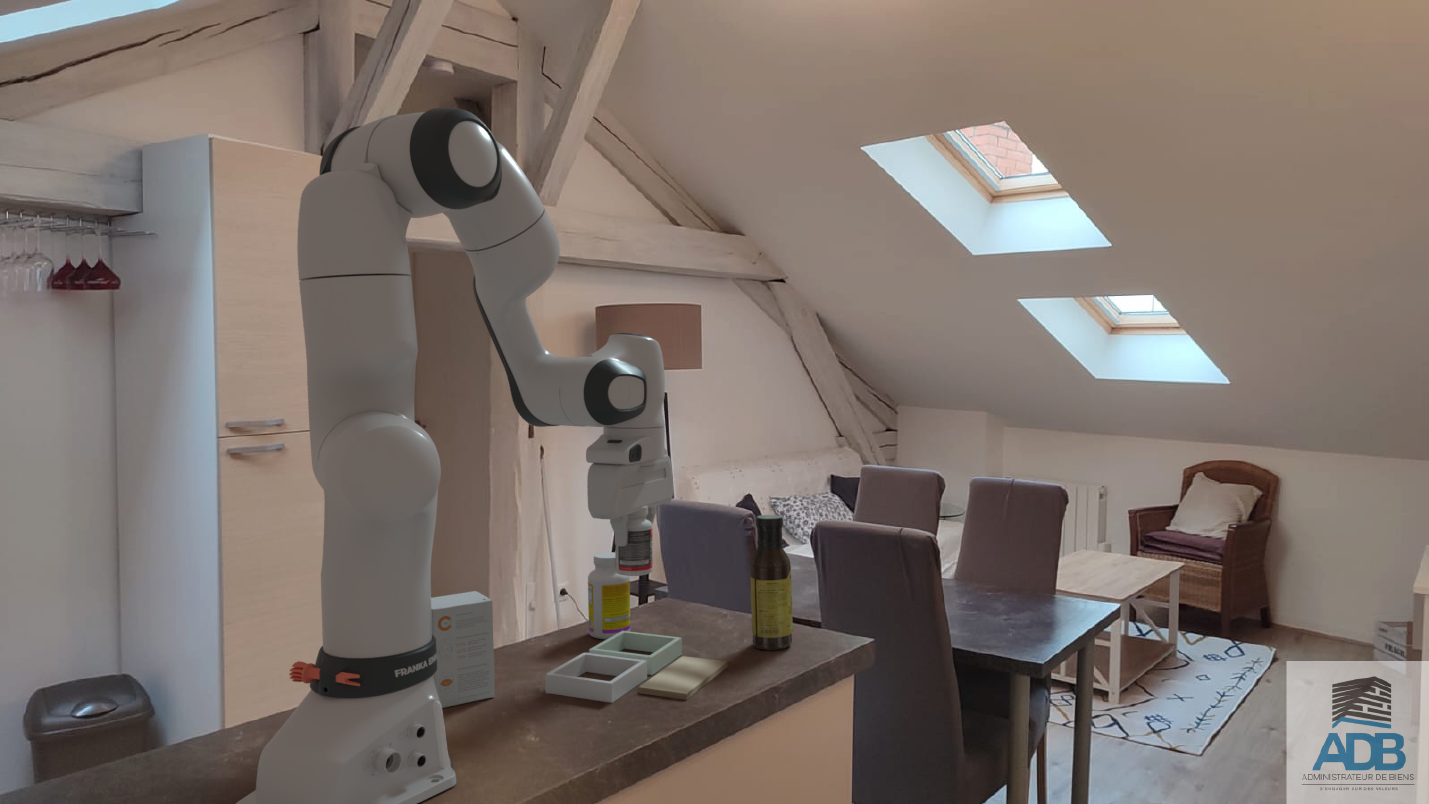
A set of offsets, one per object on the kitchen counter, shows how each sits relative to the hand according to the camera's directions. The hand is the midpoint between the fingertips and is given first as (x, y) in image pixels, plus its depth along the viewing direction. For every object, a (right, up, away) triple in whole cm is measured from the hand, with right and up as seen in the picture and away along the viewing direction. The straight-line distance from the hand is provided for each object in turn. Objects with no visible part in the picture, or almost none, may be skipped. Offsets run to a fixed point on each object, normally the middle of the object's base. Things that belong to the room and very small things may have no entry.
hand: (633, 541), depth 140 cm
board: (+8, -18, -7) cm, 21 cm away
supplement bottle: (-5, -17, +14) cm, 23 cm away
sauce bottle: (+21, -17, +8) cm, 28 cm away
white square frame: (-4, -18, -10) cm, 21 cm away
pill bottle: (0, -5, 0) cm, 5 cm away
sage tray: (0, -18, +1) cm, 18 cm away
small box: (-22, -19, -13) cm, 32 cm away
